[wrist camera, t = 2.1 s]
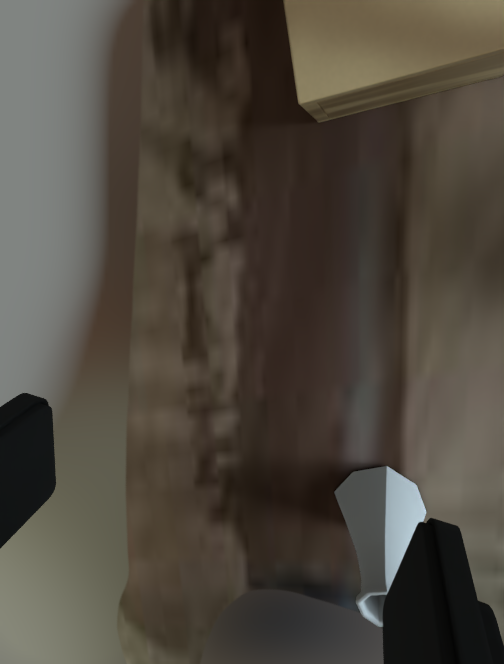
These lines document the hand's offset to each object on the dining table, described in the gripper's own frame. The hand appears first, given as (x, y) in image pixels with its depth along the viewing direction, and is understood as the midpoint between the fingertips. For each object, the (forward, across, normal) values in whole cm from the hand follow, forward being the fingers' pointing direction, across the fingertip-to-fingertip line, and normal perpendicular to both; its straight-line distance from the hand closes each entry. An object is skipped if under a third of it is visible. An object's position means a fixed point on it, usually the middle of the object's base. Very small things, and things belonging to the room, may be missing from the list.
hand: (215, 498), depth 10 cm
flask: (+23, -9, +18) cm, 30 cm away
